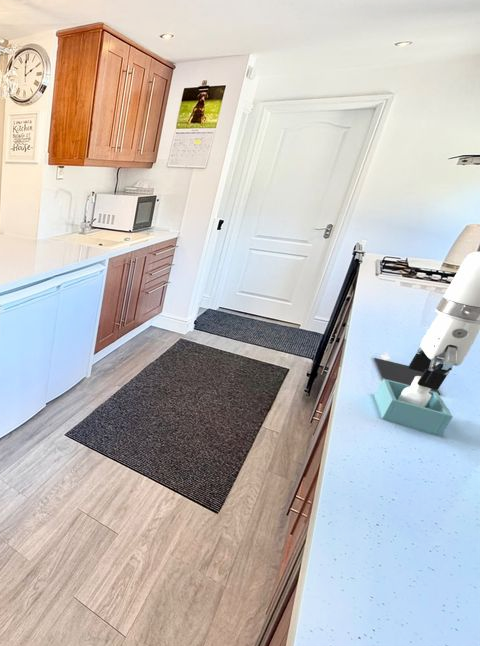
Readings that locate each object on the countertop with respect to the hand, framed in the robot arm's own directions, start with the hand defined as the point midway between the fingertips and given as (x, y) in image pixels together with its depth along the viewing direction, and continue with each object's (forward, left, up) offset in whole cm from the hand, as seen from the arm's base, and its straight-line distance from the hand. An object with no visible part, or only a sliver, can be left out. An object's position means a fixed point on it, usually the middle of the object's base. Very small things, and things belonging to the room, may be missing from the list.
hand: (421, 378), depth 93 cm
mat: (-4, -28, -10) cm, 30 cm away
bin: (0, 0, -10) cm, 10 cm away
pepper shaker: (0, 0, -10) cm, 10 cm away
